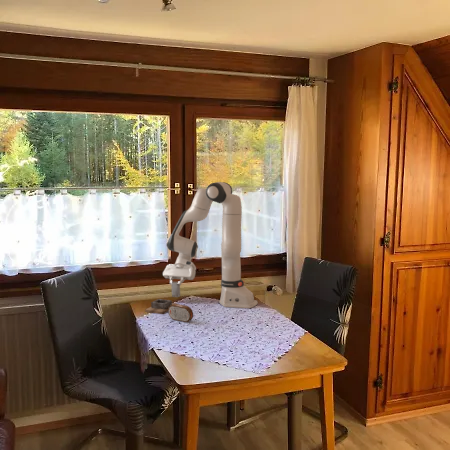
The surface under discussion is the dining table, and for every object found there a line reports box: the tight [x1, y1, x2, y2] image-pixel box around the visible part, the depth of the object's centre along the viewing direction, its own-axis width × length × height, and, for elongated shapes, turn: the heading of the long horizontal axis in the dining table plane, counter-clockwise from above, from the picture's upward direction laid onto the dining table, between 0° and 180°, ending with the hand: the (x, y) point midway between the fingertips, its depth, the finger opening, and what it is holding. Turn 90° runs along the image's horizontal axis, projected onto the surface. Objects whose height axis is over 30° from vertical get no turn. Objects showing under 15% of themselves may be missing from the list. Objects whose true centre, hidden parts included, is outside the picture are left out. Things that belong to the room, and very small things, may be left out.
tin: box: [167, 303, 194, 323], centre depth 257 cm, size 15×3×8 cm, turn 58°
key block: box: [170, 281, 181, 298], centre depth 291 cm, size 4×3×8 cm
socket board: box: [144, 298, 177, 315], centre depth 278 cm, size 11×17×4 cm, turn 156°
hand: (175, 284), depth 290 cm, fingers closed on key block, 4 cm apart
